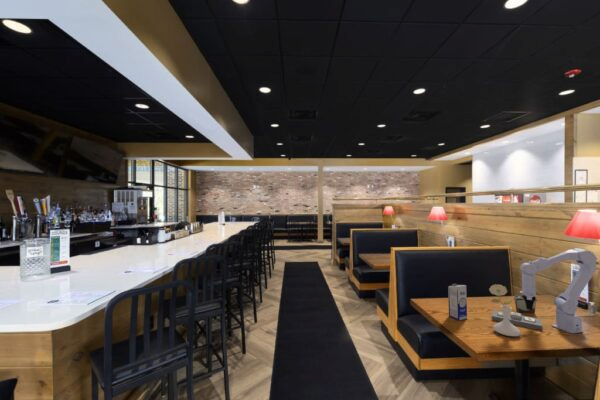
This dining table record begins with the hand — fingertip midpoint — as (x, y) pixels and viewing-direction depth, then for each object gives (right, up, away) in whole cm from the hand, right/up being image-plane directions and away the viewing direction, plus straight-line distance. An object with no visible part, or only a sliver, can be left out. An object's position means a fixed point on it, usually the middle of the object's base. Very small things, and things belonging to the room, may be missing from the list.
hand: (529, 309), depth 153 cm
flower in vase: (-21, -9, -10) cm, 25 cm away
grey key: (-5, -7, +4) cm, 9 cm away
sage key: (-9, -8, +7) cm, 14 cm away
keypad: (-5, -9, +4) cm, 10 cm away
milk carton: (-34, -9, +10) cm, 37 cm away
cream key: (0, -8, 0) cm, 8 cm away
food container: (+10, -9, +17) cm, 21 cm away
